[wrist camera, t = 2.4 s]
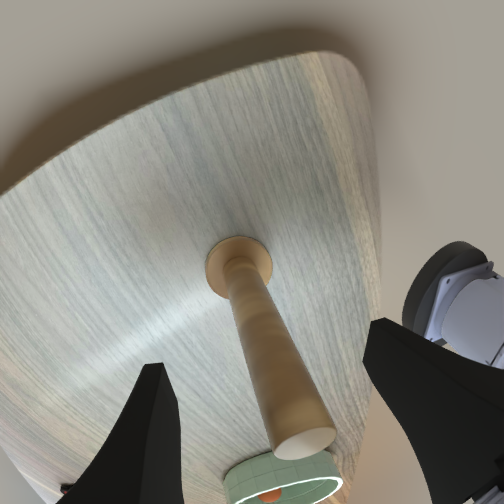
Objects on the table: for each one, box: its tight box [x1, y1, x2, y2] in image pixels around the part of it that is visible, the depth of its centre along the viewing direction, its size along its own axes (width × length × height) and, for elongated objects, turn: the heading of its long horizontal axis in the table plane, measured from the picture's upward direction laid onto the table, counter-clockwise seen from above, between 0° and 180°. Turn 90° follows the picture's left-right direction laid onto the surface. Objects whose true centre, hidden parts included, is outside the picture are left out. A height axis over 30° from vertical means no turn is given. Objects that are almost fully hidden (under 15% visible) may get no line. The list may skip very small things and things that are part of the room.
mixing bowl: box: [223, 449, 343, 504], centre depth 26 cm, size 13×13×4 cm
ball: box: [257, 488, 282, 502], centre depth 27 cm, size 3×3×3 cm
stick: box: [205, 236, 337, 460], centre depth 11 cm, size 4×4×11 cm
